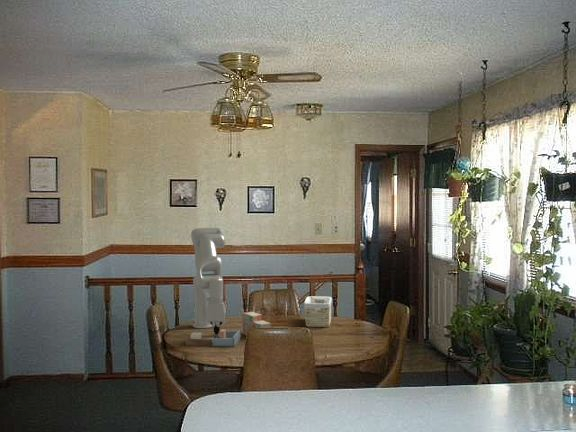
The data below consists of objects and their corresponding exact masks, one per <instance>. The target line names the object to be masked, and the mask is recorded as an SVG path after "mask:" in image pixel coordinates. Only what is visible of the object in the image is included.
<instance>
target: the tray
mask: <svg viewBox="0 0 576 432" xmlns="http://www.w3.org/2000/svg"><path fill="white" fill-rule="evenodd" d="M240 340H242V330H241V328H240V329H239V330H226V339H219V334H218V336H217V337H216V338H212V346H211V347H225V348H226V347H228V348H231V347H232V348H233V347H236V346H237V345H238V343H239V342H240Z"/></svg>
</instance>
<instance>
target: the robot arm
mask: <svg viewBox="0 0 576 432" xmlns="http://www.w3.org/2000/svg"><path fill="white" fill-rule="evenodd" d="M190 238H191V242H192V245H193V248H194V263H195V270H196V273H195V274H196V275H195V276H194V277H193V281H192V282H193V283H192V284H193V289H194V302H195V303H194V304H195V305H194V306H195V307H194V310H195V313H194V314H195V320H194V321H195V323H193V324H192V327H193V328H194V329H195V328H196V329H208V328H213V333H215V334H218V335H219V331H220V330H221V327H220V326H222V324H223V325H224V324H227V312H226V305H225V302H224V278H223V261H222V258H221V257H220V256H219V255H217V253H218V252H217V249H223V248H225V245H226V238H225V235H224V233H223V231H222V230H221V229H220V228H219V227H197V228H194V229H192V230H191V233H190ZM209 272H214V273H209Z"/></svg>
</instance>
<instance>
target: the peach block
mask: <svg viewBox="0 0 576 432" xmlns="http://www.w3.org/2000/svg"><path fill="white" fill-rule="evenodd" d="M226 331H227V330H226V329H225V328H224V329H222V328H220V331H219V333H218V335H219V339H226Z"/></svg>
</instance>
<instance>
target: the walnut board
mask: <svg viewBox="0 0 576 432" xmlns="http://www.w3.org/2000/svg"><path fill="white" fill-rule="evenodd" d="M218 335H219V333H218V334H215V332H202V338H201V339H191V334H190V335H189V336H188V337H187V338H185V341H184V342H185V346H201V347H202V346H207V347H213V346H212V338H216V337H217V336H218Z"/></svg>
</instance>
